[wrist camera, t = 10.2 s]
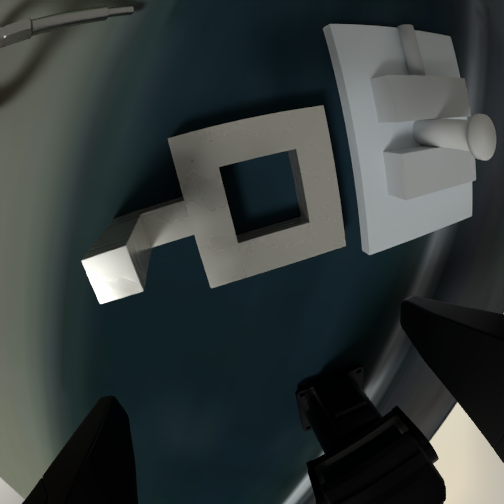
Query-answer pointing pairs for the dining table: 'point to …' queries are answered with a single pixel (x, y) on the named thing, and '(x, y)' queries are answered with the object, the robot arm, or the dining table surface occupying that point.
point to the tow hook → (58, 22)
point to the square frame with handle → (217, 210)
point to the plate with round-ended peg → (406, 130)
